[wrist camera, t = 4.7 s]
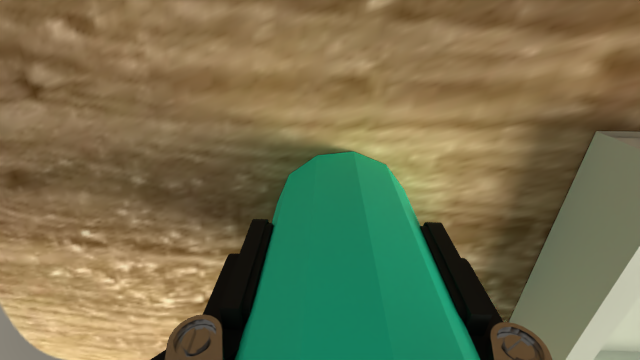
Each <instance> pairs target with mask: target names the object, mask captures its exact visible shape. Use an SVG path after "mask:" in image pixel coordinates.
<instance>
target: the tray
mask: <svg viewBox="0 0 640 360" xmlns="http://www.w3.org/2000/svg"><path fill="white" fill-rule="evenodd" d="M509 323H515V324H518V325H520V326H523V327H525V328H527V329H528V330H530V331H532V332H533V333H534V334H535V335H537V336H538V337H539V338H540V339H541V340H542V341H543V342H544V344H545V345H546V346H547V348H548V350H549V352H550V354H551V357H552V360H640V132H630V131H596V133H595V135H594V137H593V139H592V142H591V144H590V146H589V148H588V150H587V152H586V155H585V157H584V159H583V161H582V163H581V166H580V168H579V170H578V172H577V174H576V176H575V179H574V181H573V183H572V185H571V187H570V190H569V192H568V194H567V196H566V198H565V200H564V203H563V205H562V207H561V209H560V211H559V214H558V216H557V218H556V220H555V222H554V224H553V227H552V229H551V231H550V233H549V235H548V237H547V240H546V242H545V244H544V246H543V248H542V251H541V253H540V255H539V257H538V259H537V261H536V264H535V266H534V268H533V270H532V272H531V275H530V277H529V279H528V281H527V283H526V285H525V288H524V290H523V292H522V294H521V296H520V299H519V301H518V303H517V305H516V307H515V309H514V312H513V314H512V316H511V318H510V320H509Z"/></svg>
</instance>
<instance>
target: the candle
mask: <svg viewBox="0 0 640 360" xmlns="http://www.w3.org/2000/svg"><path fill="white" fill-rule="evenodd" d="M272 223H273V225H274V227H273V230H272V234H271V238H270V242H269V245H268V249H267V253H266V257H265V261H264V264H263V268H262V272H261V276H260V279H259V283H258V287H257V291H256V294H255V298H254V302H253V306H252V309H251V313H250V316H249V318H248V320H247V323H246V325H245V327H244V330H243V334H242V338H241V341H240V345H239V349H238V352H237V355H236V357H235V360H480V358H479V355H478V353H477V351H476V349H475V346H474V344H473V342H472V340H471V338H470V335H469V333H468V331H467V329H466V326H465V324H464V322H463V321H462V319H461V318H460V316H459V315H458V313H457V311H456V308H455V306H454V304H453V301H452V299H451V297H450V295H449V292H448V290H447V288H446V286H445V283H444V281H443V279H442V277H441V274H440V272H439V270H438V268H437V265H436V263H435V261H434V258H433V256H432V254H431V252H430V249H429V247H428V245H427V243H426V240H425V238H424V236H423V234H422V231H421V229H420V227H419V226H420V224H419V222H418V220H417V217H416V215H415V213H414V211H413V208H412V206H411V204H410V202H409V200H408V197H407V195H406V193H405V191H404V189H403V188H402V186H401V185H400V183H399V182H398V181H397V179H396V178H395V176H394V175H393V174H392V172H391V171H390V169H389V168H388V167H387V165H386V164H383V163H381V162H378V161H376V160H373V159H371V158H368V157H366V156H364V155H361V154H359V153H356V152H354V151H353V152H343V153H334V154H325V155H317V156H315V157H314V158H312V159H311V160H310V161H308V162H307V163H305V164H304V165H302V166H301V167H299V168H298V169H297V170H295V171H294V172H292V173H291V174H289V176H288V179H287V181H286V183H285V186H284V188H283V191H282V193H281V195H280V198H279V200H278V203H277V206H276V210H275V214H274V217H273V221H272Z"/></svg>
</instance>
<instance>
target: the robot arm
mask: <svg viewBox="0 0 640 360" xmlns="http://www.w3.org/2000/svg"><path fill="white" fill-rule="evenodd" d="M273 227H274V225H273V223H269V222H268V220H267V219H253V220H252V222H251V225H250V228H249V230H248V233H247V235H246V238H245V241H244V243H243V246H242V249H241V251H240V254H229V255H228V257H227V259H226V261H225V264H224V266H223V268H222V271H221V273H220V275H219V278H218V280H217V282H216V285H215V287H214V289H213V292H212V294H211V296H210V299H209V301H208V304H207V306H206V308H205V311H204V313H203V315H196V316H194V317H191V318H188V319H187V320H185V321H183V322H182V323H180V324H179V325H178V326H177V327H176V328H175V329H174V331H173V332H172V334H171V335H170V337H169V340H168V343H167V348H166V350H165V351H163V352H162V353H160V354H158V355H157V356H155V357H154V358H152V359H151V360H235V357H236V355H237V352H238V349H239V345H240V341H241V338H242V334H243V330H244V327H245V325H246V323H247V320H248V318H249V316H250V313H251V309H252V306H253V302H254V298H255V294H256V291H257V287H258V283H259V279H260V276H261V272H262V268H263V264H264V261H265V257H266V253H267V249H268V245H269V242H270V238H271V234H272V230H273ZM419 227H420V229H421V231H422V234H423V236H424V238H425V240H426V243H427V245H428V247H429V249H430V252H431V254H432V256H433V258H434V261H435V263H436V265H437V268H438V270H439V272H440V274H441V277H442V279H443V281H444V283H445V286H446V288H447V290H448V292H449V295H450V297H451V299H452V301H453V304H454V306H455V308H456V311H457V313H458V315H459V316H460V318H461V319H462V321H463V322H464V324H465V326H466V329H467V331H468V333H469V335H470V338H471V340H472V342H473V344H474V346H475V349H476V351H477V353H478V355H479V358H480V360H552V357H551V354H550V352H549V350H548V348H547V346H546V345H545V344H544V342H543V341H542V340H541V339H540V338H539V337H538V336H537V335H535V334H534V333H533V332H532V331H530V330H528V329H527V328H525V327H523V326H520V325H518V324H515V323H509V322H503V321H502V319H501V317H500V316H499V314H498V312H497V310H496V309H495V307H494V305H493V303H492V302H491V300H490V298H489V296H488V295H487V293H486V291H485V290H484V288H483V286H482V284H481V283H480V281H479V279H478V277H477V276H476V274H475V272H474V270H473V269H472V267H471V265H470V264H469V262H468V261H467V260H466V259H465V258H461V257H460V255H459V254H458V252H457V250H456V248H455V246H454V245H453V243H452V241H451V239H450V237H449V236H448V234H447V232H446V230H445V228H444V227H443V225H442V224H441V223H432V222H426V223H424V225H423V226H419Z"/></svg>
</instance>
